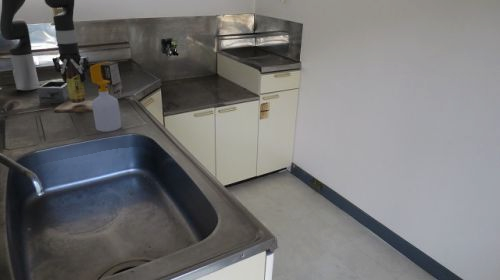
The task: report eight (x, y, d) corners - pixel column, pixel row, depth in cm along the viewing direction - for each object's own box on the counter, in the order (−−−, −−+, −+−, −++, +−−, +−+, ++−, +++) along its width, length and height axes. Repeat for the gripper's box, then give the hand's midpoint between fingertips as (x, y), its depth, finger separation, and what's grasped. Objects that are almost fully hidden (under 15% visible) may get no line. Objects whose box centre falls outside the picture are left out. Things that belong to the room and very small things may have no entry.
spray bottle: (107, 134, 138) (96, 66, 128) (91, 129, 142) (79, 63, 132) (126, 126, 145) (118, 61, 135) (110, 121, 149) (101, 58, 139)
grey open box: (36, 105, 167) (32, 90, 164) (51, 95, 181) (48, 81, 178) (61, 105, 167) (58, 90, 165) (75, 95, 182) (72, 80, 179)
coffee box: (124, 96, 180) (120, 62, 173) (114, 100, 174) (109, 65, 168) (109, 94, 183) (104, 60, 177) (99, 98, 178) (94, 63, 171)
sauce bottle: (80, 104, 161) (71, 56, 153) (66, 103, 162) (57, 56, 154) (89, 99, 167) (81, 53, 159) (76, 98, 168) (68, 53, 160)
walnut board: (54, 111, 160) (54, 109, 159) (66, 102, 171) (65, 100, 170) (93, 111, 160) (93, 109, 160) (102, 102, 171) (102, 100, 171)
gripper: (88, 39, 158) (94, 79, 165) (53, 40, 158) (61, 79, 164) (82, 42, 151) (88, 84, 158) (44, 43, 151) (53, 84, 157)
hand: (74, 81), depth 161 cm, fingers closed on sauce bottle, 6 cm apart
